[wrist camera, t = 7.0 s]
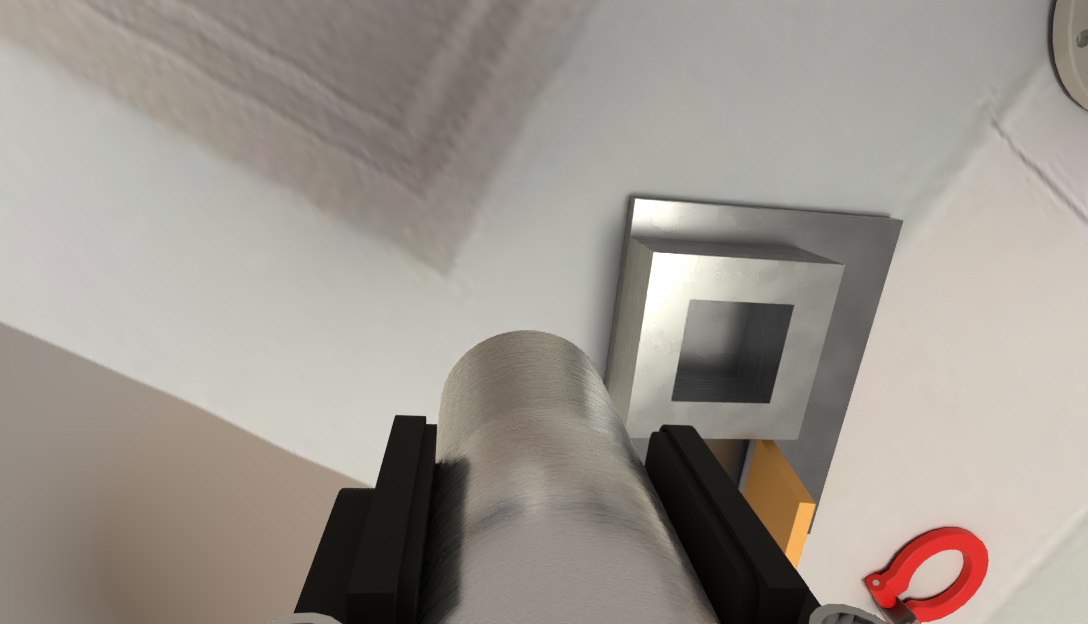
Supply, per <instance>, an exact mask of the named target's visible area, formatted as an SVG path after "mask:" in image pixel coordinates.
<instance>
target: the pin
mask: <svg viewBox="0 0 1088 624" xmlns="http://www.w3.org/2000/svg"><path fill="white" fill-rule="evenodd" d="M416 624H721V623H720V621H719V619H718V617H717V615H716V613H715V611H714V609H713V607H712V605H711V603H710V601H709V599H708V597H707V595H706V592H705V590H704V588H703V586H702V584H701V582H700V580H699V578H698V576H697V574H696V572H695V570H694V568H693V566H692V564H691V562H690V560H689V558H688V556H687V554H686V551H685V549H684V547H683V545H682V543H681V541H680V539H679V537H678V535H677V533H676V531H675V529H674V527H673V525H672V523H671V521H670V519H669V517H668V515H667V513H666V510H665V508H664V506H663V504H662V502H661V500H660V498H659V496H658V494H657V492H656V490H655V488H654V486H653V484H652V482H651V480H650V478H649V476H648V474H647V472H646V470H645V467H644V465H643V463H642V461H641V459H640V457H639V455H638V453H637V451H636V449H635V447H634V445H633V443H632V441H631V439H630V437H629V435H628V433H627V431H626V429H625V426H624V424H623V422H622V420H621V418H620V416H619V414H618V412H617V410H616V408H615V406H614V404H613V402H612V400H611V398H610V396H609V394H608V392H607V390H606V388H605V385H604V383H603V381H602V379H601V377H600V375H599V373H598V371H597V369H596V368H595V366H594V364H593V363H592V361H591V360H590V359H589V357H588V356H587V355H586V354H585V353H584V352H583V351H582V350H581V349H579V348H578V347H577V346H575V345H574V344H573V343H571V342H569V341H567V340H565V339H564V338H561V337H559V336H556V335H553V334H550V333H546V332H540V331H513V332H507V333H503V334H499V335H496V336H494V337H491V338H489V339H487V340H485V341H483V342H481V343H479V344H478V345H476V346H475V347H473V348H472V349H470V350H469V351H468V352H467V353H466V354H465V355H464V356H463V357H461V359H460V360H459V361H458V362H457V363H456V365H455V366H454V367H453V369H452V371H451V372H450V374H449V375H448V378H447V380H446V382H445V385H444V388H443V392H442V397H441V405H440V413H439V420H438V428H437V442H436V462H435V472H434V480H433V488H432V497H431V505H430V513H429V522H428V530H427V539H426V547H425V555H424V564H423V572H422V581H421V589H420V597H419V606H418V614H417V622H416Z"/></svg>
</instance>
